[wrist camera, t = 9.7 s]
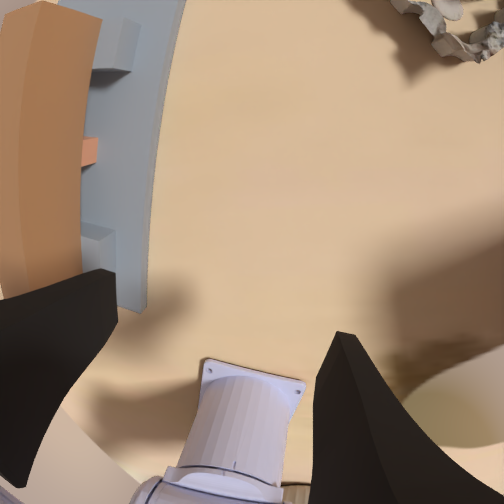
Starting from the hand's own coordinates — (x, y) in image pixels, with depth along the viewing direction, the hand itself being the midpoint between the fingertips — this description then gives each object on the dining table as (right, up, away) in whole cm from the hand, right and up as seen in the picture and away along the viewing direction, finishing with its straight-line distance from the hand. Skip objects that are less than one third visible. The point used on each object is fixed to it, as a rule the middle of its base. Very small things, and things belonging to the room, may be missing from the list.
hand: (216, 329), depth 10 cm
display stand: (-9, +9, +9) cm, 16 cm away
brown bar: (-10, +8, +6) cm, 14 cm away
